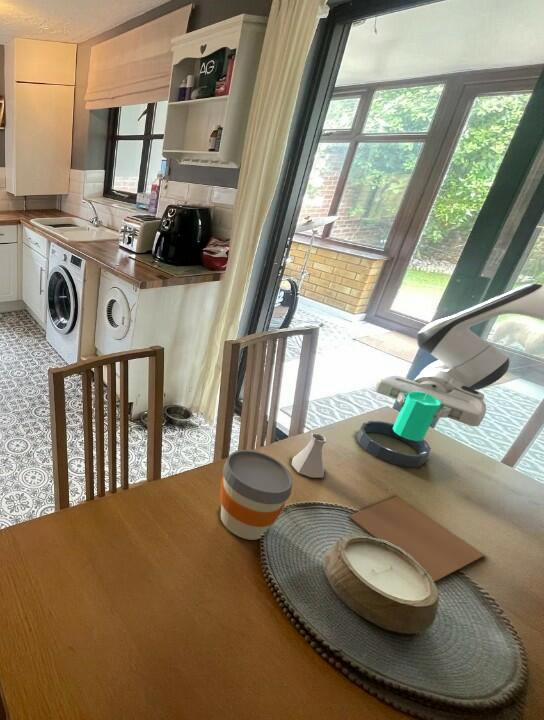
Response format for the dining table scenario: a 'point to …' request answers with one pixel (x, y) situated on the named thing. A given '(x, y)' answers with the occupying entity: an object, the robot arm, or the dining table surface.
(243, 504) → the reusable coffee cup
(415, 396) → the candle
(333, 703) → the dining table surface
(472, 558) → the mat
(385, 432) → the ring
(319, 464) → the flask
